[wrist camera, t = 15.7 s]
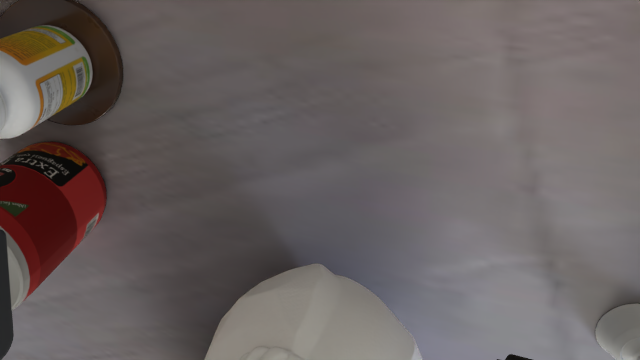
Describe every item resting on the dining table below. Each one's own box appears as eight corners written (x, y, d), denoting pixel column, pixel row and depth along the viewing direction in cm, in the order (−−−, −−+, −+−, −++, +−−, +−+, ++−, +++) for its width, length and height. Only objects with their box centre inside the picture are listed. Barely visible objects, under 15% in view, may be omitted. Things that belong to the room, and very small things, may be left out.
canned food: (95, 136, 42) (-1, 210, 33) (121, 231, 46) (40, 322, 36) (2, 138, 44) (-118, 210, 34) (33, 230, 47) (-67, 318, 37)
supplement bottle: (4, 44, 40) (-111, 88, 31) (62, 9, 38) (-44, 44, 29) (52, 113, 41) (-44, 172, 33) (110, 82, 40) (24, 136, 31)
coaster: (-5, -20, 38) (-11, -19, 38) (125, 10, 38) (121, 12, 37) (3, 106, 42) (-2, 108, 42) (121, 135, 42) (117, 138, 41)
